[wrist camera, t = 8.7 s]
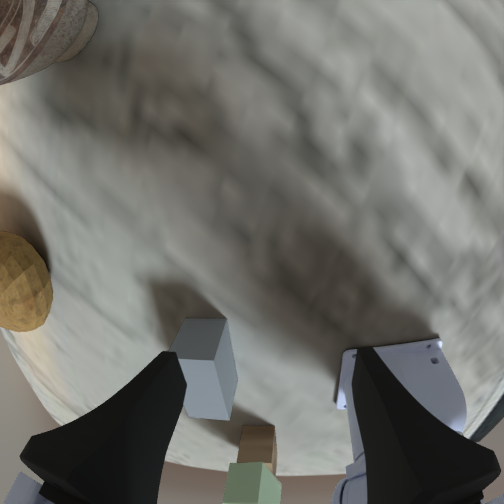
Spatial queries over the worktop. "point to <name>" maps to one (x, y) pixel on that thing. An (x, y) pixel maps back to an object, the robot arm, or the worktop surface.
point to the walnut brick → (258, 446)
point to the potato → (22, 285)
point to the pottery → (42, 34)
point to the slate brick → (207, 367)
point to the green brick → (251, 485)
